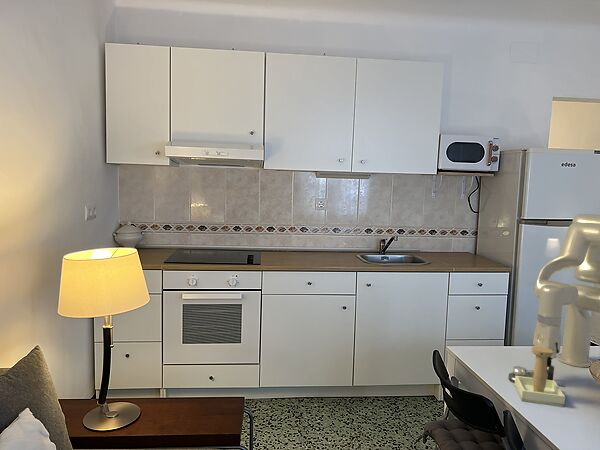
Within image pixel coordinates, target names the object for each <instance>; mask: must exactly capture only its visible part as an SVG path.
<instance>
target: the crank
mask: <svg viewBox="0 0 600 450" xmlns="http://www.w3.org/2000/svg"><path fill="white" fill-rule="evenodd" d="M512 367H513V368H512V373H513V376H514V377H515V376H522V377H530V378H533V375H534V369H533V370H532V369H527V368H526V367H522V366H518V365H517V366H515V365H514V366H512ZM554 373H555V366H554V365H552V364H551V365H547V379H546V380H553V381H554Z"/></svg>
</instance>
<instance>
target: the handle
mask: <svg viewBox="0 0 600 450" xmlns="http://www.w3.org/2000/svg"><path fill="white" fill-rule="evenodd" d="M531 353H532V354H534V355H535V363H534V369H533V370H534V375H533V387H534V388H533V390H534V392H542V393H544V389H545V386H546V379H547V358H548V357H551V356H552V355H553V350H550V349H547V348H543V347H536V346H532V347H531Z"/></svg>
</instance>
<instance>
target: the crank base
mask: <svg viewBox="0 0 600 450" xmlns="http://www.w3.org/2000/svg"><path fill="white" fill-rule="evenodd" d="M507 380H508V381H509V382H511V383H513V384H515V377H514V376H513V372H510V373H508V379H507ZM558 387H562V388H563V387H564V388H566V385H562V384H559V385H558Z"/></svg>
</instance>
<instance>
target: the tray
mask: <svg viewBox="0 0 600 450" xmlns="http://www.w3.org/2000/svg"><path fill="white" fill-rule="evenodd" d="M514 387H515V390H516V391H517V394H518V397H519V398H520V400H521V402H527V403H533V404H540V405H548V406H553V407H554V406H555V407H562V408H564V407H565V400H566V396H565V394H564V393H563V392H562V390H561V389H560V386H559V385H558V384H557V382H556V381H555V380H554V379H553V380H546V386H545V389H544V393H542V392H534V390H533V388H534V387H533V378H530V377H522V376H515V383H514Z"/></svg>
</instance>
